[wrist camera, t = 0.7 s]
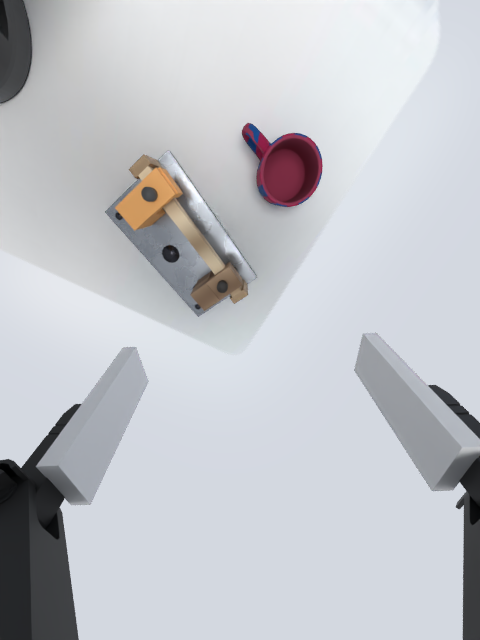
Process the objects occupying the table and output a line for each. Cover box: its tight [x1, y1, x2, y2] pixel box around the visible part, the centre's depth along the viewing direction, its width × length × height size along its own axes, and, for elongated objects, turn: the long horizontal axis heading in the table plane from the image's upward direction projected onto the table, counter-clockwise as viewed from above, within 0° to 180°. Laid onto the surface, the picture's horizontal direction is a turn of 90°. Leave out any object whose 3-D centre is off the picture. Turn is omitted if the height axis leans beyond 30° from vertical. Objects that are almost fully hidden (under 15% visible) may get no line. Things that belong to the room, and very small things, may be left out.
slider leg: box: [115, 167, 183, 231], centre depth 28 cm, size 3×8×7 cm, turn 125°
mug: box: [242, 123, 322, 207], centre depth 27 cm, size 7×10×7 cm
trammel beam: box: [129, 155, 248, 311], centre depth 31 cm, size 20×8×7 cm, turn 35°
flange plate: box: [105, 151, 257, 317], centre depth 34 cm, size 20×12×1 cm, turn 35°
